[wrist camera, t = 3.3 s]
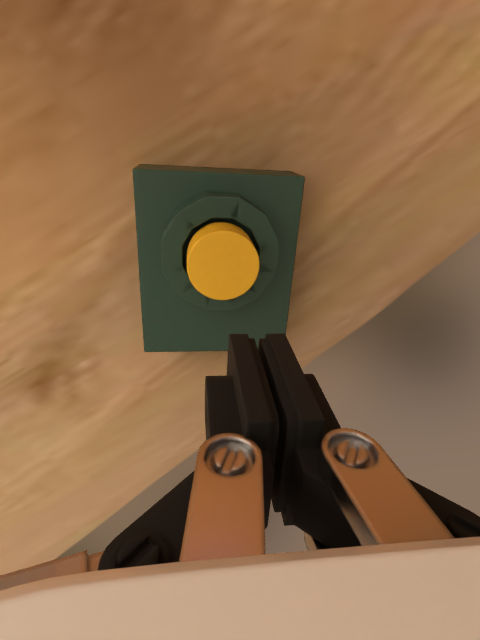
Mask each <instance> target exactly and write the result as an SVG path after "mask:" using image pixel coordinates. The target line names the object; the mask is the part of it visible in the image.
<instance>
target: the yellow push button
mask: <svg viewBox="0 0 480 640" xmlns="http://www.w3.org/2000/svg"><path fill="white" fill-rule="evenodd" d="M258 272H259V256H258V253H257V251H256V249H255V247H254V245H253V243H252V241H251V240H250V238H249V236H248V235H247V234H246V233H245V232H244V231H243V230H242V229H241V228H239V227H238V226H236V225H234V224H231V223H227V222H215V223H211V224H208V225H206V226H204V227H202V228H201V229H199V230H198V231H197V232H196V233H195V234H194V236H193V237H192V238H191V240H190V242H189V245H188V249H187V273H188V276H189V279H190V281H191V283H192V284H193V286H194V287H195V288H196V289H197V290H198V291H199V292H200V293H201V294H203V295H205V296H207V297H209V298H212V299H216V300H229V299H233V298H236V297H238V296H240V295H242V294H244V293H245V292H246V291H248V290H249V289H250V288H251V286H252V285H253V284H254V282H255V280H256V278H257V276H258Z"/></svg>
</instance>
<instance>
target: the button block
mask: <svg viewBox="0 0 480 640" xmlns="http://www.w3.org/2000/svg"><path fill="white" fill-rule="evenodd" d="M304 180H305V177H304V176H301V175H299V174H296V173H294V172H291V171H271V170H251V169H230V168H210V167H190V166H169V165H149V164H139V165H138V166H136V167H135V168H134V169H133V182H134V198H135V214H136V229H137V245H138V261H139V276H140V292H141V308H142V323H143V339H144V351H145V352H178V351H228V343H229V334H248V337H249V338H254V339H255V342H256V345H257V348H258V346H259V339H260V338H265V336H266V334H278V333H284V334H285V335H286V327H287V319H288V311H289V302H290V294H291V286H292V278H293V270H294V262H295V254H296V245H297V237H298V229H299V221H300V213H301V205H302V197H303V188H304ZM215 222H227V223H231V224H234V225H236V226H238V227H239V228H241V229H242V230H243V231H244V232H245V233H246V234H247V235H248V236H249V238H250V240H251V241H252V243H253V245H254V247H255V249H256V251H257V253H258V256H259V272H258V276H257V278H256V280H255V282H254V284H253V285H252V286H251V288H250V289H249V290H248V291H246V292H245V293H244V294H242V295H240V296H238V297H236V298H233V299H229V300H216V299H212V298H209V297H207V296H205V295H203V294H201V293H200V292H199V291H198V290H197V289H196V288H195V287H194V286H193V284H192V283H191V281H190V279H189V276H188V273H187V249H188V245H189V242H190V240H191V238H192V237H193V236H194V234H195V233H196V232H197V231H198V230H199V229H201V228H202V227H204V226H206V225H208V224H211V223H215Z"/></svg>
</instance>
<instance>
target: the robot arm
mask: <svg viewBox="0 0 480 640" xmlns="http://www.w3.org/2000/svg"><path fill="white" fill-rule="evenodd" d="M205 426H206V441H205V442H204V443H203V444H202V445H201V446H200V449H199V451H198V455H197V460H196V466H195V471H193V472H192V473H191V474H190V475H189V476H188V477H186V478H185V479H184V480H183V481H182V482H181V483H179V484H178V485H177V486H176V487H175V488H174V489H172V490H171V491H170V492H169V493H168V494H166V495H165V496H164V497H163V498H162V499H161V500H159V501H158V502H157V503H156V504H155V505H153V506H152V507H151V508H150V509H149V510H148V511H146V512H145V513H144V514H143V515H142V516H141V517H139V518H138V519H137V520H136V521H135V522H133V523H132V524H131V525H130V526H129V527H128V528H126V529H125V530H124V531H123V532H122V533H120V534H119V535H118V536H117V537H116V538H115V539H114V540H113V541H112V542H111V543H110V544H109V545H108V546H107V547H106V549H105V551H102V552H99V553H95V554H92V555H89V556H88V554H87V550H86V551H83V552H79V553H76V554H72V555H70V556H66V557H62V558H59V559H56V560H52V561H49V562H45V563H42V564H39V565H35V566H32V567H28V568H25V569H22V570H18V571H15V572H11V573H8V574H5V575H1V576H0V640H480V517H479V516H477V515H476V514H474V513H472V512H471V511H469V510H467V509H465V508H463V507H461V506H460V505H458V504H456V503H454V502H452V501H450V500H448V499H446V498H444V497H442V496H440V495H438V494H437V493H435V492H433V491H431V490H429V489H427V488H425V487H423V486H421V485H419V484H417V483H416V482H414V481H412V480H409V479H408V478H406V477H405V476H404V474H403V473H402V472H401V471H400V469H399V468H398V467H397V466H396V464H395V463H394V462H393V461H392V459H391V458H390V457H389V456H388V454H387V453H386V452H385V451H384V450H383V448H382V447H381V446H380V445H379V444H378V443H377V442H376V441H375V440H374V439H373V438H372V437H370V436H368V435H367V434H365V433H363V432H360V431H357V430H353V429H348V428H341V427H340V425H339V423H338V421H337V419H336V418H335V415H334V414H333V411H332V410H331V408H330V406H329V404H328V402H327V400H326V398H325V396H324V394H323V392H322V390H321V388H320V386H319V384H318V382H317V380H316V378H315V377H314V375H313V374H304V373H303V371H302V369H301V367H300V365H299V363H298V361H297V359H296V356H295V354H294V352H293V350H292V348H291V346H290V344H289V342H288V339H287V337H286V335H285V334H284V333H278V334H266V336H265V338H260V339H259V346H258V348H257V345H256V342H255V339H254V338H249V337H248V334H229V343H228V364H227V376H206V379H205ZM271 499H272V503H273V508H274V511H275V512H281V514H282V518H283V522H284V525H285V526H286V525H295V526H297V527H299V528H300V529H301V530H303V531H304V540H305V543H306V547H307V549H308V551H297V552H285V553H274V554H265V529H266V527H267V524H268V517H269V509H270V502H271Z"/></svg>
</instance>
